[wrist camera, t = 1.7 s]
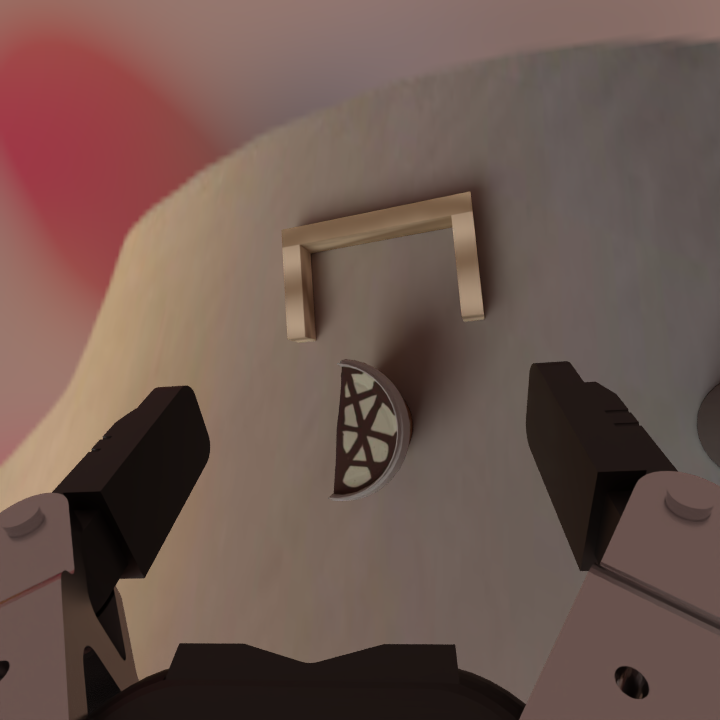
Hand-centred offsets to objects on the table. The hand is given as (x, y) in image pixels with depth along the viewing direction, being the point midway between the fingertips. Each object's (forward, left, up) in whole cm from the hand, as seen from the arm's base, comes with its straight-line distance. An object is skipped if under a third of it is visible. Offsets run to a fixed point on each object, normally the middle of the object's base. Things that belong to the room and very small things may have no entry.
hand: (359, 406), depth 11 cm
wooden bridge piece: (+13, +7, -36) cm, 39 cm away
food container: (-2, +7, -36) cm, 37 cm away
